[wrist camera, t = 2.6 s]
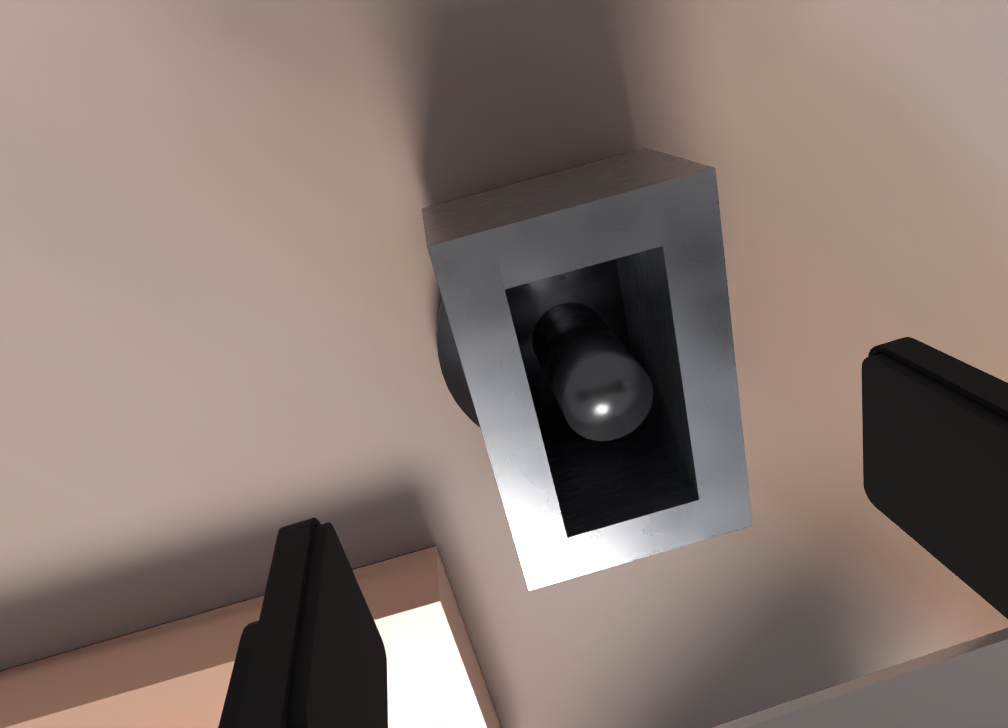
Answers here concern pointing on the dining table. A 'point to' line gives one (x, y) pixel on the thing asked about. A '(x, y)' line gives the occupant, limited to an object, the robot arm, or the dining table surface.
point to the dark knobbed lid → (567, 356)
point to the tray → (212, 651)
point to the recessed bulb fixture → (654, 345)
